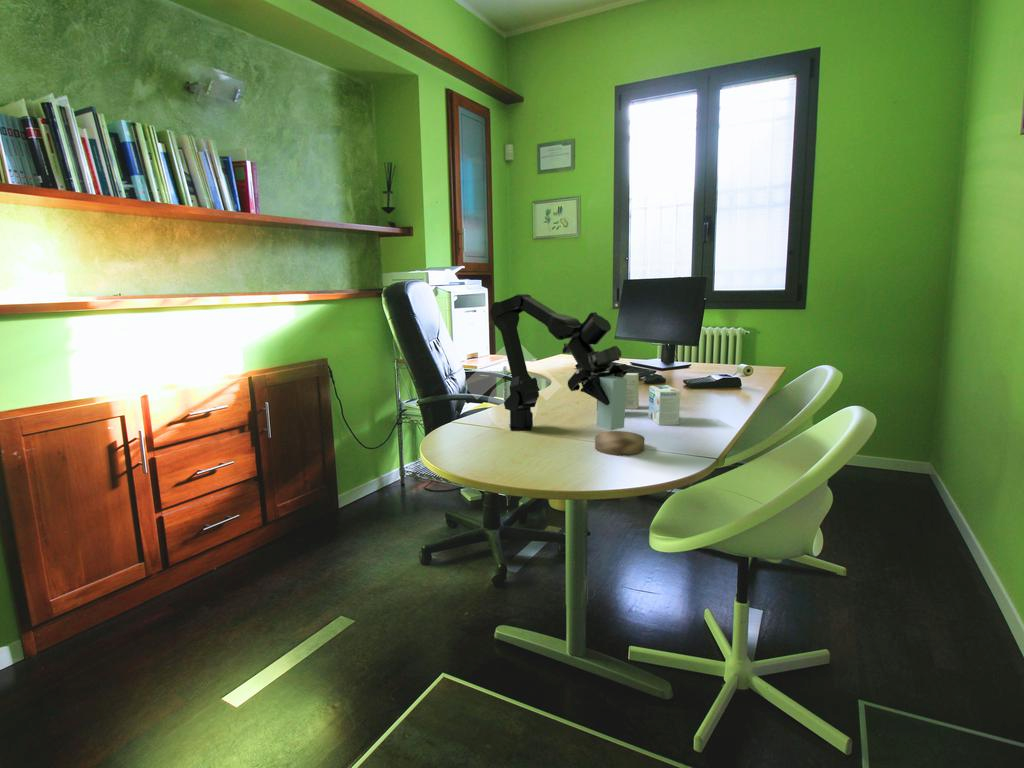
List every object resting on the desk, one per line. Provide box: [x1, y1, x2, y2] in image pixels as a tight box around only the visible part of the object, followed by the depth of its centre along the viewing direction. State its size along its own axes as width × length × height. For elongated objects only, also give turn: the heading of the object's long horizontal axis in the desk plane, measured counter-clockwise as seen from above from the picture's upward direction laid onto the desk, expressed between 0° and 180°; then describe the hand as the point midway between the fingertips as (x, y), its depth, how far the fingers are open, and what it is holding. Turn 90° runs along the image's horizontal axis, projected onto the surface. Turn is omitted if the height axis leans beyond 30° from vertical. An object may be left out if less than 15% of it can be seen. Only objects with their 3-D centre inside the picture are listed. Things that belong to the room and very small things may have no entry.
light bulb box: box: [648, 384, 681, 426], centre depth 182 cm, size 11×7×11 cm, turn 5°
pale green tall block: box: [596, 376, 627, 431], centre depth 149 cm, size 5×5×13 cm
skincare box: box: [623, 372, 640, 410], centre depth 201 cm, size 6×4×12 cm
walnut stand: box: [594, 430, 645, 457], centre depth 154 cm, size 13×13×3 cm
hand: (615, 402), depth 148 cm, fingers closed on pale green tall block, 5 cm apart
